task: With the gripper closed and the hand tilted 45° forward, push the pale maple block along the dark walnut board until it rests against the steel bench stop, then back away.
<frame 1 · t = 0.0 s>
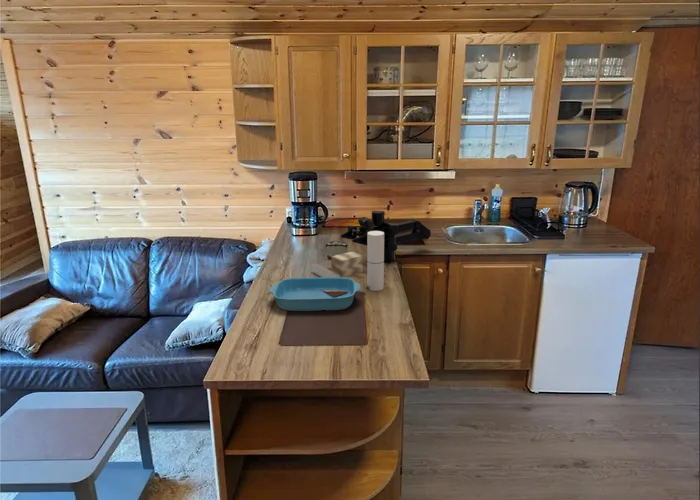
hand: (346, 238, 221), 17 cm above the countertop, tool horizontal, fingers open, 9 cm apart
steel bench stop: (325, 277, 214), resting on walnut board
casserole dish: (315, 303, 193), on the countertop
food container: (337, 260, 242), on the countertop
walnut board: (348, 274, 222), on the countertop
cylindrical container: (375, 288, 207), on the countertop
maple block: (347, 272, 221), point 1 cm above the countertop, touching walnut board
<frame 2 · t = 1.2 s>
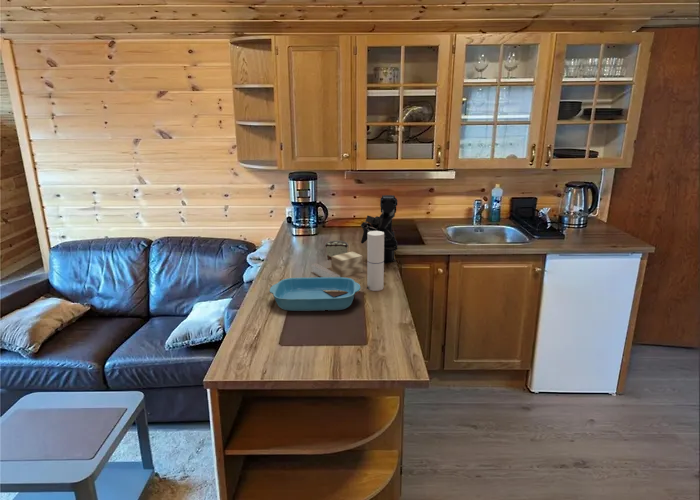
hand: (366, 244, 224), 13 cm above the countertop, tool tilted 45°, fingers open, 8 cm apart
nothing on the countertop moved.
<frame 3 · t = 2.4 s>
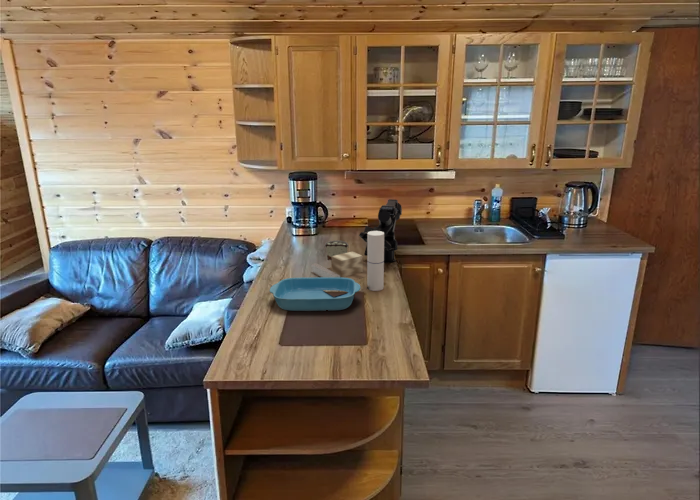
hand: (365, 255, 225), 8 cm above the countertop, tool tilted 45°, fingers closed
nothing on the countertop moved.
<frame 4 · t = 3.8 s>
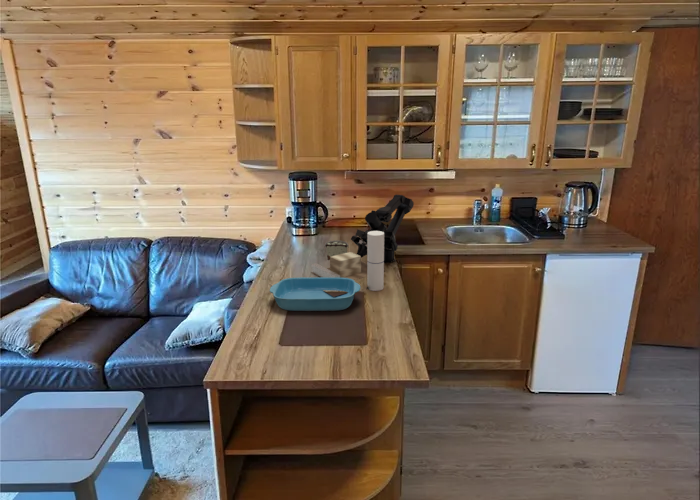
hand: (356, 259, 222), 7 cm above the countertop, tool tilted 45°, fingers closed, pressing on maple block
maple block: (345, 272, 221), point 2 cm above the countertop, touching gripper, walnut board
everything else where it was.
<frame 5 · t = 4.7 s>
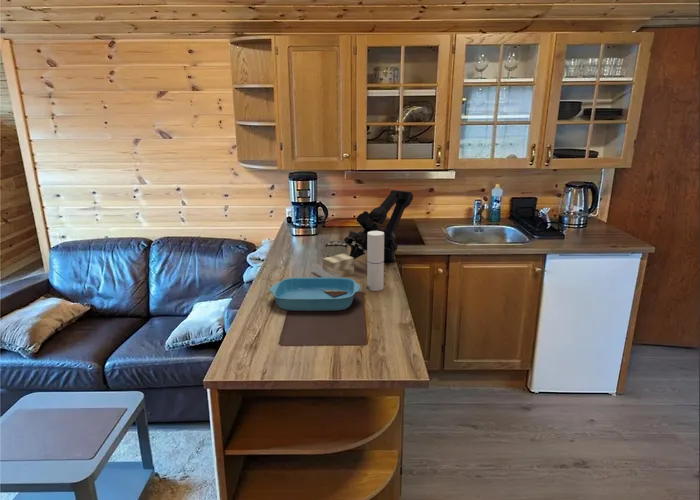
hand: (349, 260, 220), 7 cm above the countertop, tool tilted 45°, fingers closed, pressing on maple block
maple block: (338, 274, 218), point 2 cm above the countertop, touching gripper, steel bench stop, walnut board
everything else where it was.
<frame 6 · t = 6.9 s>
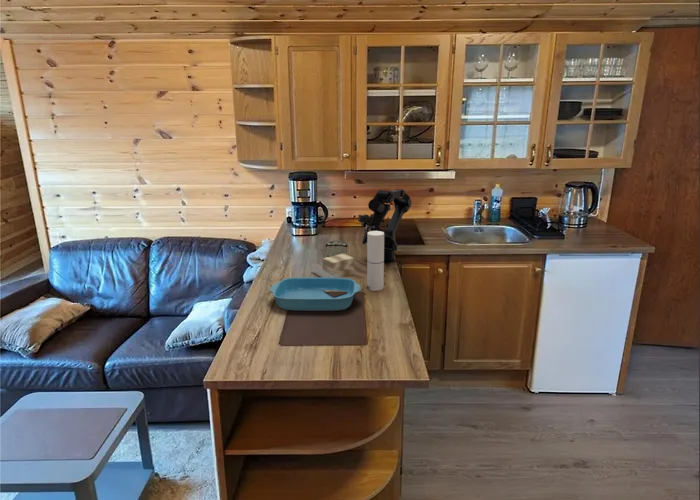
hand: (363, 243, 226), 13 cm above the countertop, tool tilted 35°, fingers closed
maple block: (338, 274, 218), point 1 cm above the countertop, touching walnut board
everything else where it was.
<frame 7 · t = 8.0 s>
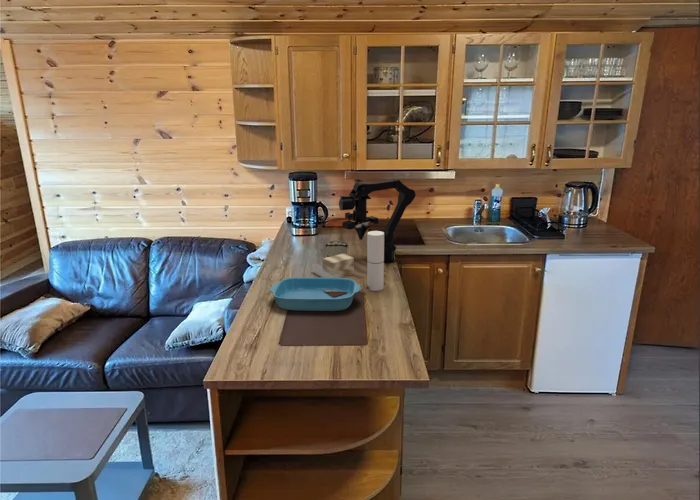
hand: (360, 239, 231), 13 cm above the countertop, tool pointing down, fingers closed
nothing on the countertop moved.
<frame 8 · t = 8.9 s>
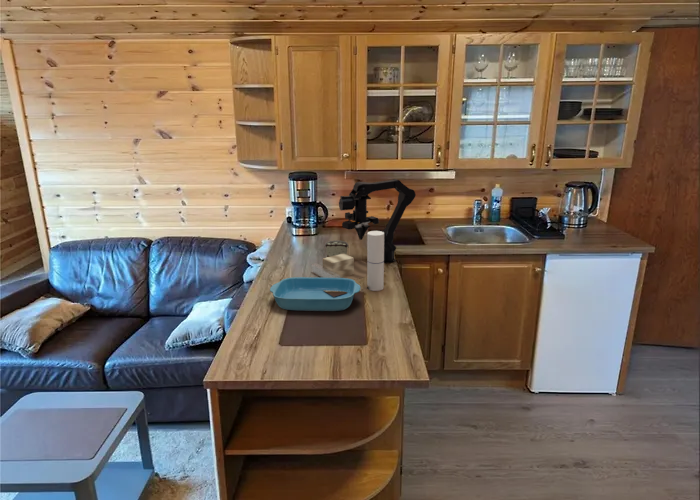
hand: (360, 239, 231), 13 cm above the countertop, tool pointing down, fingers closed
nothing on the countertop moved.
at the end: maple block 0.0 cm from the target spot, point 1.5 cm above the countertop; maple block tilted 0° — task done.
